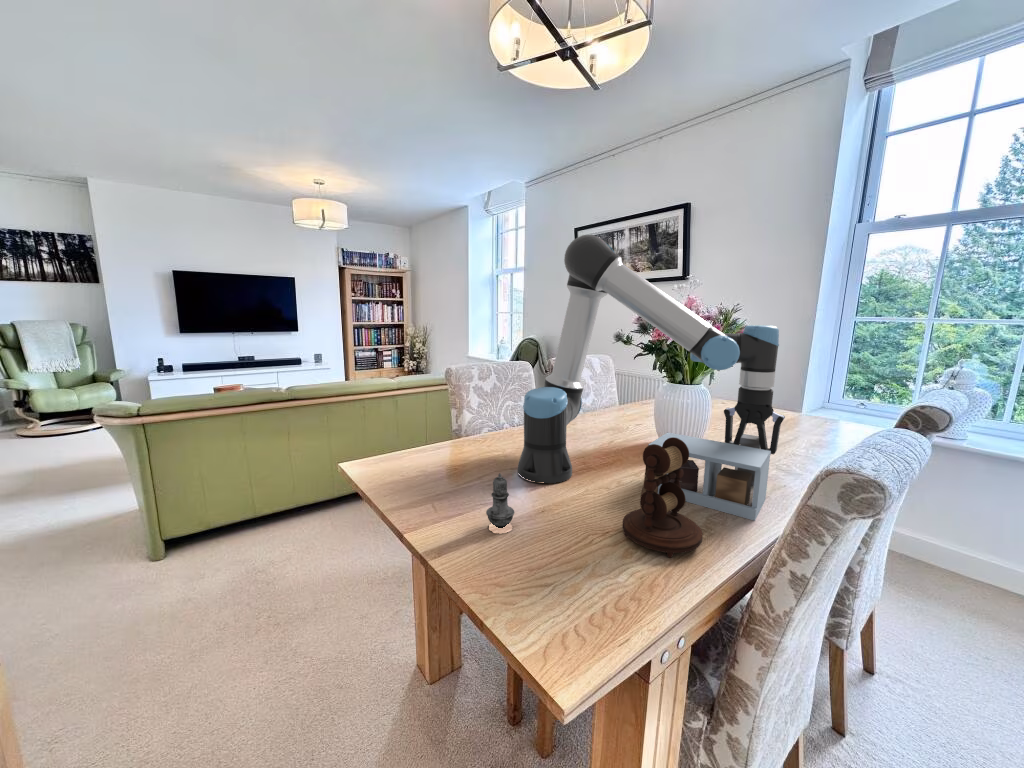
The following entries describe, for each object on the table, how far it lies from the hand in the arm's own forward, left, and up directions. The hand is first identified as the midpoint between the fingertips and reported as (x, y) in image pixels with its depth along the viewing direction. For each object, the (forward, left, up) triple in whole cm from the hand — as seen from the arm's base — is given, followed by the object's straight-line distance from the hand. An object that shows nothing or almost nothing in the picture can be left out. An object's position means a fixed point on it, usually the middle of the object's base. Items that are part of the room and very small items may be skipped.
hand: (747, 475), depth 106 cm
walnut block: (-6, -6, -2) cm, 9 cm away
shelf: (-15, -6, -2) cm, 16 cm away
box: (-19, -3, -2) cm, 20 cm away
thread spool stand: (-34, -24, -2) cm, 42 cm away
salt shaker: (-66, -17, -2) cm, 68 cm away
